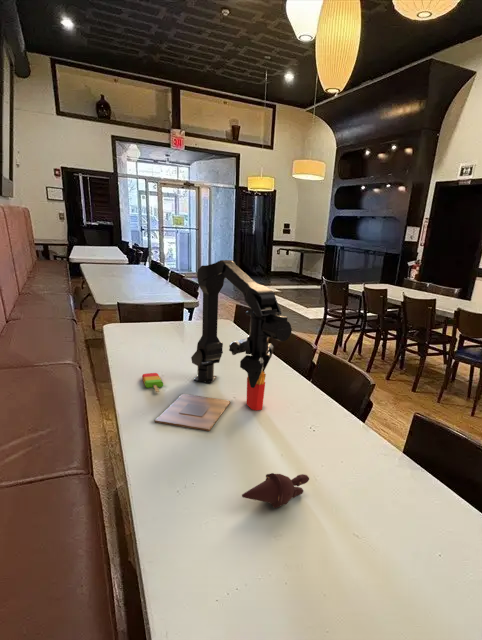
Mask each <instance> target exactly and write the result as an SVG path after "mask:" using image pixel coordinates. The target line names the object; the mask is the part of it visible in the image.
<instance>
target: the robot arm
mask: <svg viewBox="0 0 482 640" xmlns="http://www.w3.org/2000/svg"><path fill="white" fill-rule="evenodd" d="M196 275H197V285H198V286H199V288H200V290H201V292H202V327H201V332H202V333H201V334H202V335H201V337H200V338H199V340H198V342H197V344H196V351H195V352H194V353H193V354H192V355H191V357H190V359H191V363H192V364H193V365H195V366H197V372H196V373H197V376H196V377H194V379H193V381H194V382H200V383H205V384H206V383H207V384H212V383H213V382H214V381H215V380H216V379H217V378H218V375H215V373H214V372H215V364H219V363H220V361H221V358H222V355H223V354H224V352H223V351H224V350H223V348H224V347H223V346H224V343H223V342H222V341H220V339H219V337H218V319H219V317H218V316H219V294H220V292H221V291H222V289H223V287H224V284H225V279H227V281H228V282H229V283H231V284H232V285H233V286H234V287H235V288H236V289H237V290H238V291H239V292H240V293H241V294H242V295H243V297H244V298H243V299H244V302H245V304H247V306H248V308H249V310H247V311H246V312H245V314H246V315H247V316H250V319H249V320H250V322H249V335H248V336H247V337H246V338H241V339H239V340H238V339H237V340H235V341H232V342H231V343H230V344H229V346H228V347H229V349H228V351H229V352H230V353H231V355H232V356H235V355H237V354H238V355H239V354H242V353H245V355H244V357H242V358H241V359H240V361H239V368H240V369H242V370H244V371H245V372H246V373H247V377H249V382H250V386H251V388H254V387H255V385H256V383H257V381H258V379H259V377H260V375H261V373H262V370H263V372H265V371H266V368H267V366H268V364H269V362H270V361H271V359H272V357H273V354H274V348H275V347H274V345H273V344H272V343H269V342H270V340H271V339H274V340H276V341H278V342H285V341H287V340H289V338H290V337H291V335H292V332H293V328H292V325H291V323H290V322H289V321H288V316H285V315H282V310H281V307H280V306H279V303H278V300H277V298H276V293H275V292H274V290H272V289H271V288H270V287H267V286H266V285H263V284H259V283H258V282H256V281H255V280H254V279H252V278H251V277H250V276H249V275H248V274H247V273H246V272H244V271H243V270H242V269H241V268H240V267H239V266H238V265H236V262H235V261H234V260H232V259H221V260H218V261H216V262H213V263H211V264H207V265H201V266H200V267H199V268H198V269H197V273H196Z"/></svg>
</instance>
